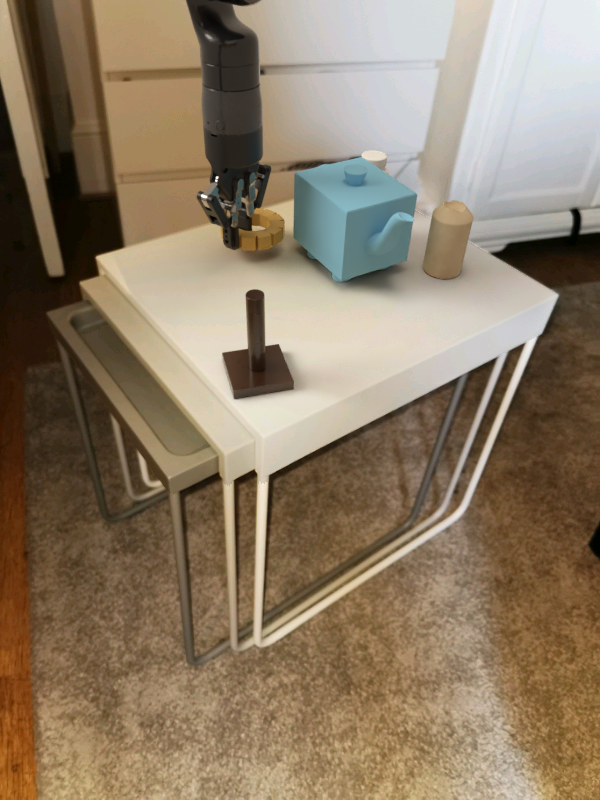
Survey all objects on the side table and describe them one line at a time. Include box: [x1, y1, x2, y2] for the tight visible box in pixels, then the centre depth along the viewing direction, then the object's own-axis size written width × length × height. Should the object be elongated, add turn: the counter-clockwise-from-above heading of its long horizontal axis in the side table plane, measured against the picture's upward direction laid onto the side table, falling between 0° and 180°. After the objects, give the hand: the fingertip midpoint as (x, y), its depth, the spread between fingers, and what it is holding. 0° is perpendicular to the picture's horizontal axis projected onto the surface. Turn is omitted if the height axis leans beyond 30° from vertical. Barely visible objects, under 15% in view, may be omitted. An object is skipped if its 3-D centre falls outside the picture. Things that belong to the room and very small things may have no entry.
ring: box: [220, 207, 286, 252], centre depth 94 cm, size 9×9×2 cm
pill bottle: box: [360, 149, 390, 175], centre depth 102 cm, size 5×5×9 cm
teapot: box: [292, 156, 418, 283], centre depth 88 cm, size 22×11×14 cm, turn 30°
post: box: [221, 288, 295, 400], centre depth 71 cm, size 7×7×11 cm
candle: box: [422, 199, 474, 280], centre depth 89 cm, size 6×6×10 cm
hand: (238, 243), depth 92 cm, fingers closed on ring, 2 cm apart
